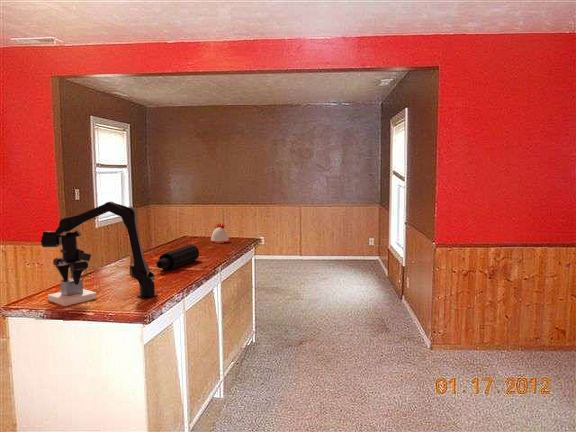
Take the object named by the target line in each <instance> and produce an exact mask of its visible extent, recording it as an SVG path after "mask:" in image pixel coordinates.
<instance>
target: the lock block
mask: <svg viewBox="0 0 576 432" xmlns="http://www.w3.org/2000/svg"><path fill="white" fill-rule="evenodd" d="M83 280H84V279H83V278H80V280H79V284H78V285H76V284H75V282H74V280H73V277H72V278H68V279H67V280H64V279H62V280H60V292H61V295H64V296H72V295H76V294H81V293H83V289H84V285H83V283H84V281H83Z"/></svg>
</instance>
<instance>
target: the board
mask: <svg viewBox="0 0 576 432" xmlns="http://www.w3.org/2000/svg"><path fill="white" fill-rule="evenodd" d="M97 297H98V295H97V292H95V291H91V290H88V289H86V288H83V293H81V294H76V295H72V296H64V295H61V291H59V292H54V293H49V294H47V301H48V300H49V302H52V303H55V304H58V305H60V306H63V307H66V306H71V305H75V304H79V303H83V302H88V301H92V300H96V299H98V298H97Z"/></svg>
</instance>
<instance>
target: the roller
mask: <svg viewBox="0 0 576 432" xmlns="http://www.w3.org/2000/svg"><path fill="white" fill-rule="evenodd" d="M199 256H200V251H199V248H198V247H197V246H196V245H193V244H189V245H185V246H182V247H180V248H177V249H174V250H170V251H167V252H164V253H162V254H161V255H160V256H159V259H158V261H156V267H157V268H158V269H162V270H163V271H164V272H165V271H167V272H169V271H172V270H174V269H178V268H180V267H182V266H184V265H187V264H190V263H191V262H194V261H196V260H198V258H199Z"/></svg>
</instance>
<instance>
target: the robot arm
mask: <svg viewBox="0 0 576 432" xmlns="http://www.w3.org/2000/svg"><path fill="white" fill-rule="evenodd" d="M109 212H110V213H112V214H114V215H115V216H118V217H121V220H122V222H123V224H124V226H125V227H126V230H127V233H128V235H127V236H128V238H129V242H130V243H129V244H130V248H131V252H132V254H133V258H134V264H132V265H131V266H130V265H129V268H130V267H131V270H132V275H131V276H133V278H134V279H135V280H137V282H138V284H139V294H138V295H137V296H136V297H137V298H141V299H144V300H146V299H151V298H155V297H158V293H155V292H156V289H155V287H156V286H155V281H154V280H155V279H156V275H155V274H154V273H153V272H152V271H151V269H150V267H149V265H148V262H147V261H146V259H145V257H144V253H143V248H142V244H141V238H140V233H139V229H138V222H139V221H138V220H139V217H138V216H139V214H138V213H139V212H138V209H137V208H135V206H126V205H123V204H118V203H116V202H114V201H107V202H105V203H104V204H101V205H99V206H96V207H94V208H92V209H90V210H86V211H85V212H82V213H80V214H77V215H72V216H67V217H64V218H62V219H60V220H59V223H58V225H59V226H58V227H57V228H56V230H55V231H50V230H45V231H43V232H42V236H41V239H40V244H41V246H42V248H59V247H60V245H61V248H62V249H60V250H59V251H60V253H62V256H60V257H55V258H54V259H53V261H52V263H53V266H54V267H55V268H56V269H57V271H58V273H59V275H60V276H61V277H62V280H67V279H69V272H70V274H71V277H72V278H73V280H74V282H75V284H76V285H78V284H79V280H80V279H81V277H82V274H83V272H84V271H85V270H87V269H89V262H90V261H91V257H92V254H91V253H87V252H86V253H85V252H84V250H81V249H80V248H78V240H77V239H78V238H77V237H81V236H82V235H83V234H82V232H80V231H79V230H77V228H79V227H80V226H81V225H82V226H83V224H84V223H86V222H88V221H90V220H92V219H95V218H97V217H99V216H100V217H101V216H102V215H104V214H106V213H109ZM73 230H75V231H73ZM71 231H72V232H71Z"/></svg>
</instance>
